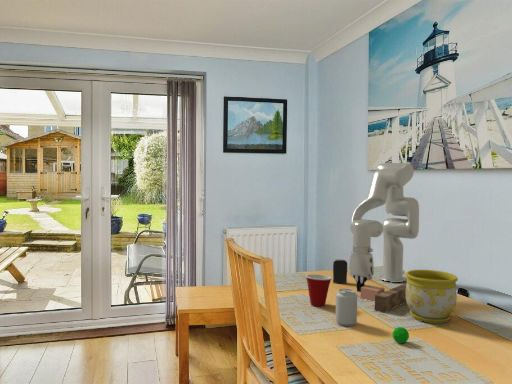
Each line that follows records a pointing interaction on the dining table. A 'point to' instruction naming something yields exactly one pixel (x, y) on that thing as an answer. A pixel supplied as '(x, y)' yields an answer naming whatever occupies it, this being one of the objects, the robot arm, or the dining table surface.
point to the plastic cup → (318, 288)
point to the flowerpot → (431, 295)
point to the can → (346, 307)
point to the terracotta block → (370, 292)
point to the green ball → (400, 335)
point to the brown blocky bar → (390, 298)
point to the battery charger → (339, 271)
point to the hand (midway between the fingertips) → (360, 291)
